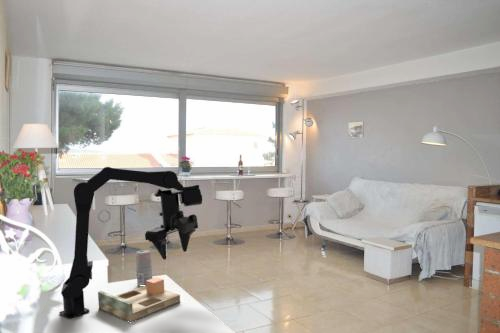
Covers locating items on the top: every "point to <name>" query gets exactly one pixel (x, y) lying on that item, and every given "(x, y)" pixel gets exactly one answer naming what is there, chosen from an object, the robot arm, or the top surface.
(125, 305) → the board
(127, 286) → the top surface
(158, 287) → the block
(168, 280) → the top surface
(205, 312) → the top surface
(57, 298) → the top surface
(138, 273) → the energy drink
